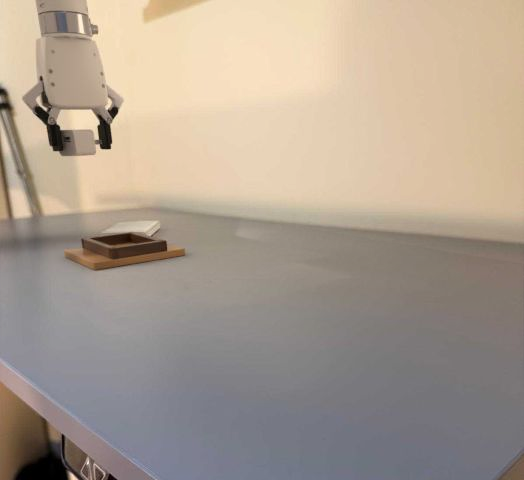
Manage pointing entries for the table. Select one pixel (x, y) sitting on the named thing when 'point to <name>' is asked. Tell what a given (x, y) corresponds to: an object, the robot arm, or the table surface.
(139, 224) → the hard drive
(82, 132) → the usb wall charger
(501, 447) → the table surface
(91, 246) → the wooden tray
